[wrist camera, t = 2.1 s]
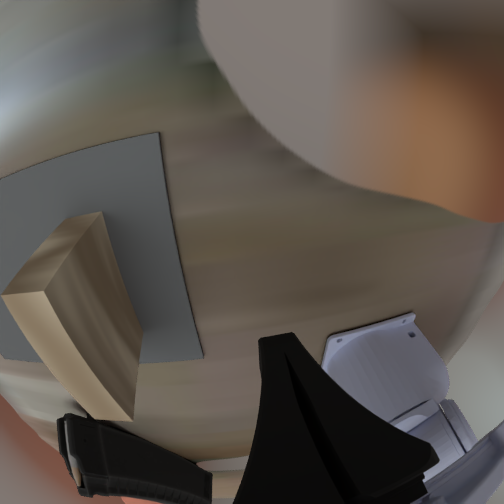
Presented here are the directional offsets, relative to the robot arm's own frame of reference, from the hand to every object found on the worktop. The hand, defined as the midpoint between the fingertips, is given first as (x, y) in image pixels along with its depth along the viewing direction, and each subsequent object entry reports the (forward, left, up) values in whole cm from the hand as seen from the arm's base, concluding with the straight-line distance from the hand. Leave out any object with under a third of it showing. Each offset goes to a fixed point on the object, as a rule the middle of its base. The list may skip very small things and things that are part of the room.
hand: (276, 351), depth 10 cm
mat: (+15, 0, -7) cm, 16 cm away
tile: (+9, 0, -7) cm, 11 cm away
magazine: (+16, +29, -7) cm, 34 cm away
